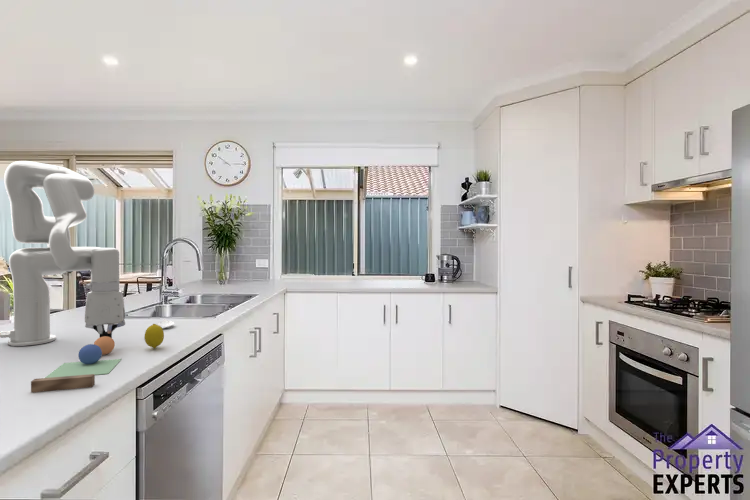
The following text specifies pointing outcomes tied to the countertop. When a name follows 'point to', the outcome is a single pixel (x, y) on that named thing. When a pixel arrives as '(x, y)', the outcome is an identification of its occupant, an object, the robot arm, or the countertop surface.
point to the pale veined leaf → (166, 323)
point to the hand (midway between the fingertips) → (105, 345)
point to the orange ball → (105, 344)
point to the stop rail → (62, 383)
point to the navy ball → (90, 354)
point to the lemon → (154, 336)
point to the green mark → (84, 368)
